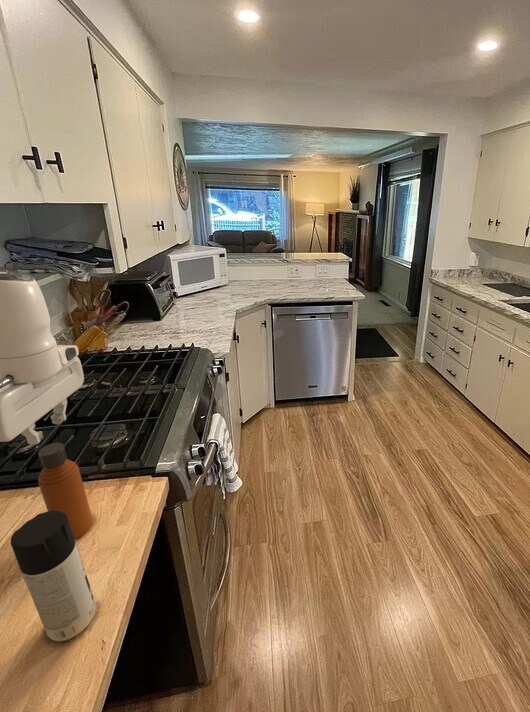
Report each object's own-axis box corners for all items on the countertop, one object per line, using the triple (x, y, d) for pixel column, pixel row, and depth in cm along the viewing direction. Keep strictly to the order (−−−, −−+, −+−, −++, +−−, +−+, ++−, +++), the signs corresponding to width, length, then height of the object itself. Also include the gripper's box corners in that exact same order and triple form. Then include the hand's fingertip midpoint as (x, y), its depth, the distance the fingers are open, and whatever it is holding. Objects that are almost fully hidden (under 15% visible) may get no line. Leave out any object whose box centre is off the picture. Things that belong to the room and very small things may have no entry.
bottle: (48, 541, 71) (21, 463, 64) (69, 515, 77) (46, 441, 70) (81, 541, 71) (57, 462, 64) (99, 515, 77) (79, 441, 70)
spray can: (106, 606, 59) (79, 515, 53) (67, 651, 53) (30, 554, 47) (77, 593, 61) (47, 503, 55) (36, 634, 55) (-4, 539, 49)
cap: (72, 454, 70) (68, 442, 69) (58, 468, 66) (54, 455, 65) (51, 454, 70) (47, 442, 69) (36, 468, 66) (32, 456, 65)
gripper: (-3, 393, 52) (23, 470, 57) (83, 343, 71) (96, 403, 76) (-47, 393, 52) (-18, 470, 56) (50, 343, 71) (66, 403, 76)
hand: (48, 431), depth 66 cm, fingers open, 5 cm apart
